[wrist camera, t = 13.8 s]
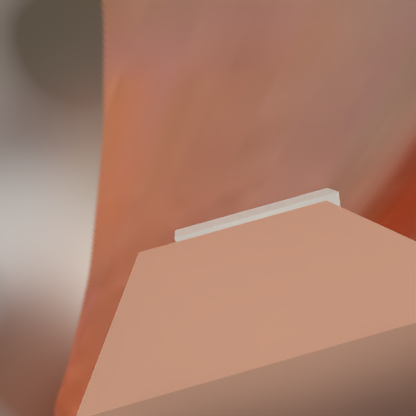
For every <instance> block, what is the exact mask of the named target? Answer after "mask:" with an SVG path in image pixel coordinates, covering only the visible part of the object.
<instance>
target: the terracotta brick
mask: <svg viewBox="0 0 416 416" xmlns="http://www.w3.org/2000/svg"><path fill="white" fill-rule="evenodd" d="M76 416H416V241H414V240H411V239H409V238H407V237H405V236H403V235H401V234H398V233H396V232H394V231H392V230H390V229H388V228H385V227H383V226H381V225H379V224H377V223H374V222H372V221H370V220H368V219H366V218H364V217H361V216H359V215H357V214H355V213H353V212H350V211H348V210H346V209H344V208H342V207H340V206H337V205H335V204H333V203H331V202H329V201H327V200H326V201H322V202H319V203H315V204H312V205H308V206H304V207H301V208H297V209H294V210H290V211H286V212H283V213H279V214H276V215H272V216H268V217H265V218H261V219H258V220H254V221H250V222H247V223H243V224H240V225H236V226H232V227H229V228H225V229H222V230H218V231H214V232H211V233H207V234H204V235H200V236H196V237H193V238H189V239H185V240H182V241H178V242H175V243H171V244H167V245H164V246H160V247H157V248H153V249H149V250H146V251H142V252H139V254H138V256H137V259H136V262H135V264H134V267H133V269H132V272H131V275H130V277H129V280H128V282H127V285H126V288H125V290H124V293H123V295H122V298H121V301H120V303H119V306H118V308H117V311H116V314H115V316H114V319H113V322H112V324H111V327H110V329H109V332H108V335H107V337H106V340H105V342H104V345H103V348H102V350H101V353H100V355H99V358H98V361H97V363H96V366H95V368H94V371H93V374H92V376H91V379H90V381H89V384H88V387H87V389H86V392H85V394H84V397H83V400H82V402H81V405H80V407H79V410H78V413H77V415H76Z"/></svg>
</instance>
